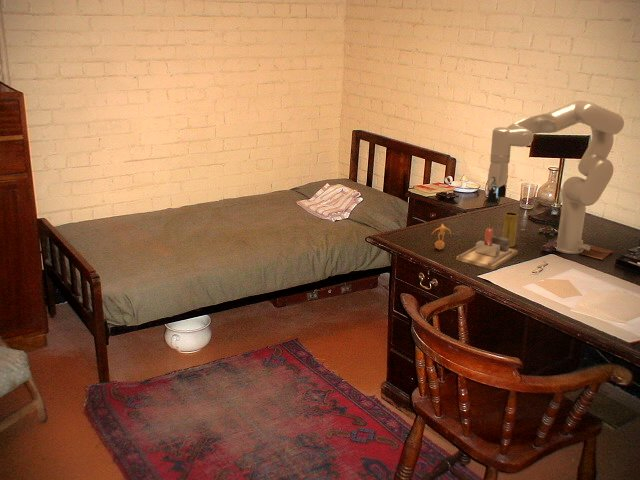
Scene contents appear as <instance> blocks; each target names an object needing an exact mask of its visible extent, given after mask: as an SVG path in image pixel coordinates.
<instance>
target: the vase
mask: <svg viewBox="0 0 640 480" xmlns="http://www.w3.org/2000/svg"><path fill="white" fill-rule="evenodd" d="M518 217H519V214H518V213H517V212H514V211H513V212H512V211H507V212H505V213H504V219H503V220H504V222H503V229H502V236H501V237H503V238H507V239H510V244H509V248H512V247H515V246H516V240H517V239H516V238H517V224H518Z"/></svg>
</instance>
